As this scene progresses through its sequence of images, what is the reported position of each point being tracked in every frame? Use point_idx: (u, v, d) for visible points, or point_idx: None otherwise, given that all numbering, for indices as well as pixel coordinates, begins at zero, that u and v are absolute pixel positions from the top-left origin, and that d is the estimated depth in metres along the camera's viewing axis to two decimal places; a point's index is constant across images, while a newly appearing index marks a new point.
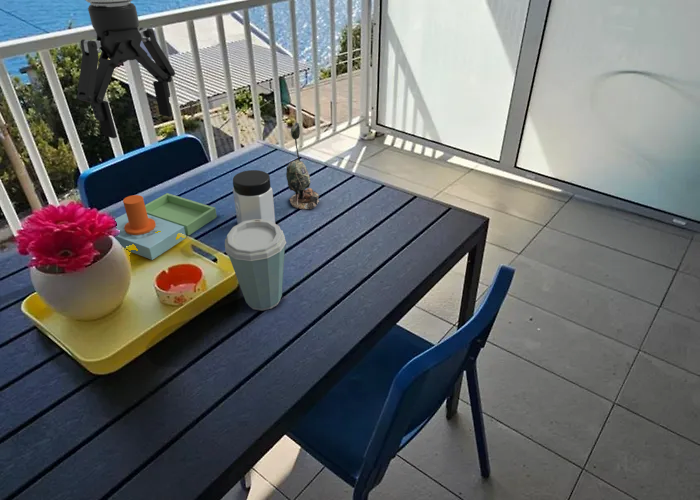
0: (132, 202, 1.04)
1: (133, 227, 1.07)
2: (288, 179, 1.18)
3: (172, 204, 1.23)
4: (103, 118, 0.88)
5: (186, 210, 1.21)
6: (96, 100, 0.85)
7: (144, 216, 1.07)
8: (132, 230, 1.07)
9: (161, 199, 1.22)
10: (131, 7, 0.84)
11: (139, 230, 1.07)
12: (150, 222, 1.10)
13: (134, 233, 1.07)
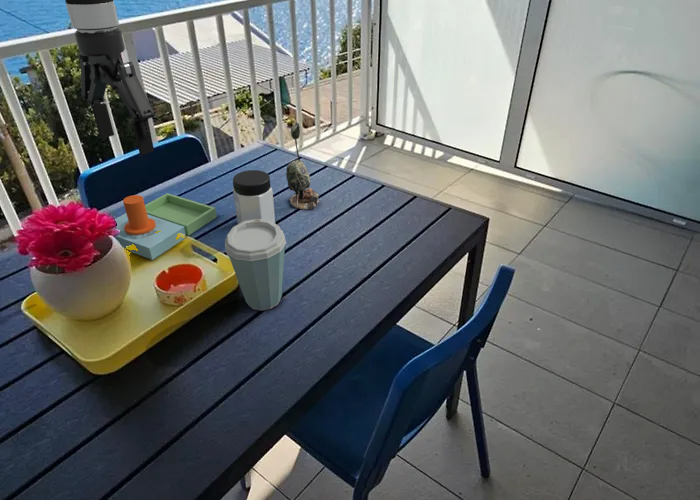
0: (132, 202, 1.04)
1: (133, 227, 1.07)
2: (288, 179, 1.18)
3: (172, 204, 1.23)
4: None
5: (186, 210, 1.21)
6: None
7: (144, 216, 1.07)
8: (132, 230, 1.07)
9: (161, 199, 1.22)
10: None
11: (139, 230, 1.07)
12: (150, 222, 1.10)
13: (134, 233, 1.07)
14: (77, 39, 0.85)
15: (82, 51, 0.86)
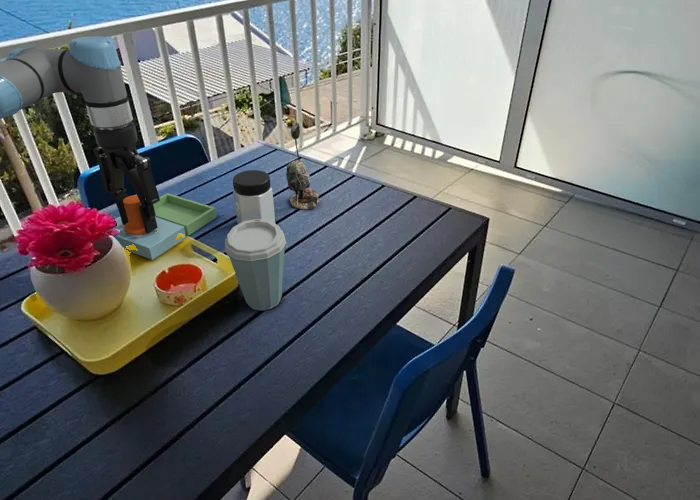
0: (132, 202, 1.04)
1: (133, 227, 1.07)
2: (288, 179, 1.18)
3: (172, 204, 1.23)
4: None
5: (186, 210, 1.21)
6: None
7: None
8: (132, 230, 1.07)
9: (161, 199, 1.22)
10: None
11: (139, 230, 1.07)
12: None
13: (134, 233, 1.07)
14: (97, 135, 0.95)
15: (101, 145, 0.95)
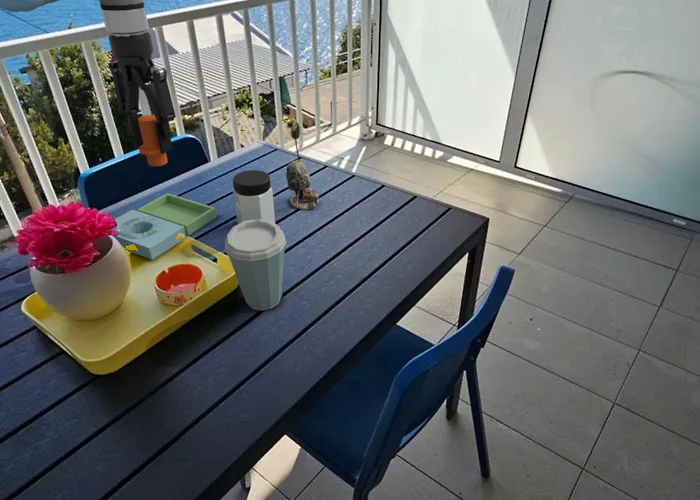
0: (147, 120, 1.02)
1: (148, 148, 1.05)
2: (288, 179, 1.18)
3: (172, 204, 1.23)
4: None
5: (186, 210, 1.21)
6: None
7: None
8: (147, 151, 1.05)
9: (161, 199, 1.22)
10: None
11: (154, 150, 1.05)
12: None
13: (149, 153, 1.04)
14: (112, 42, 0.92)
15: (117, 53, 0.93)
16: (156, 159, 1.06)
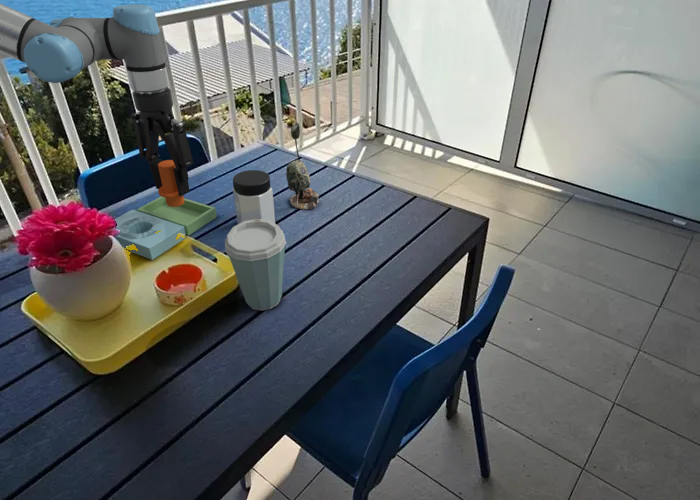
0: (167, 166, 1.10)
1: (167, 190, 1.13)
2: (288, 179, 1.18)
3: None
4: None
5: (186, 210, 1.21)
6: None
7: None
8: (166, 193, 1.13)
9: (161, 199, 1.22)
10: None
11: (172, 193, 1.13)
12: None
13: (168, 196, 1.12)
14: (136, 99, 1.00)
15: (141, 109, 1.01)
16: (174, 201, 1.14)
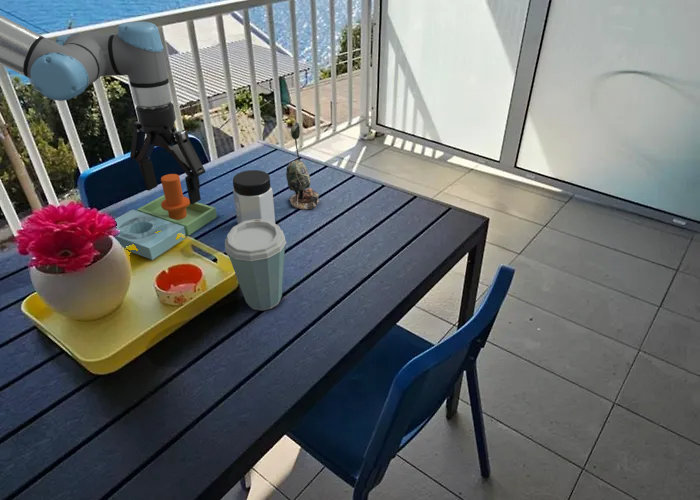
0: (169, 180, 1.12)
1: (170, 204, 1.15)
2: (288, 179, 1.18)
3: None
4: None
5: (186, 210, 1.21)
6: None
7: (180, 194, 1.15)
8: (169, 207, 1.15)
9: (161, 199, 1.22)
10: None
11: (175, 206, 1.15)
12: (185, 200, 1.18)
13: (171, 209, 1.14)
14: (140, 114, 1.02)
15: (144, 123, 1.03)
16: (176, 214, 1.16)
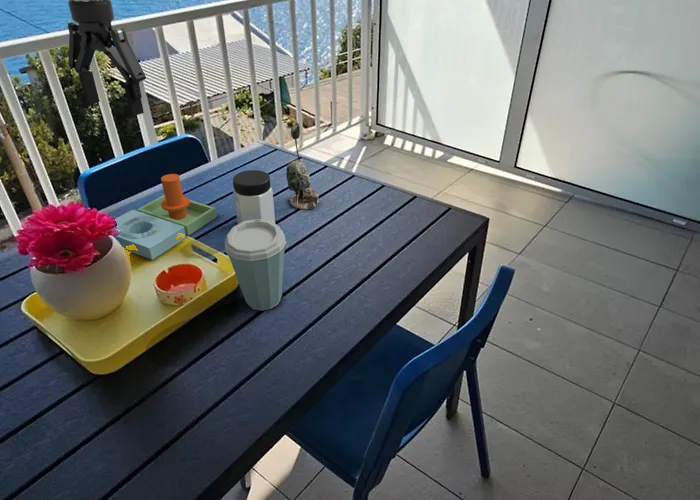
0: (169, 180, 1.12)
1: (170, 204, 1.15)
2: (288, 179, 1.18)
3: None
4: None
5: (186, 210, 1.21)
6: None
7: (180, 194, 1.15)
8: (169, 207, 1.15)
9: (161, 199, 1.22)
10: None
11: (175, 206, 1.15)
12: (185, 200, 1.18)
13: (171, 209, 1.14)
14: (71, 7, 0.93)
15: (76, 18, 0.94)
16: (176, 214, 1.16)
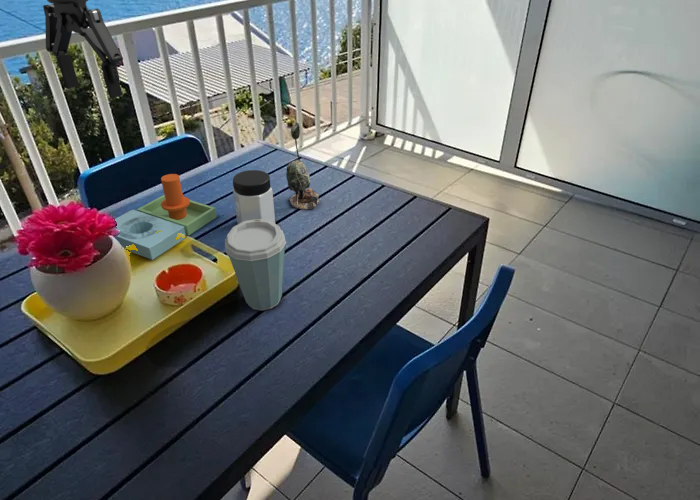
0: (169, 180, 1.12)
1: (170, 204, 1.15)
2: (288, 179, 1.18)
3: None
4: None
5: (186, 210, 1.21)
6: None
7: (180, 194, 1.15)
8: (169, 207, 1.15)
9: (161, 199, 1.22)
10: None
11: (175, 206, 1.15)
12: (185, 200, 1.18)
13: (171, 209, 1.14)
14: None
15: None
16: (176, 214, 1.16)
